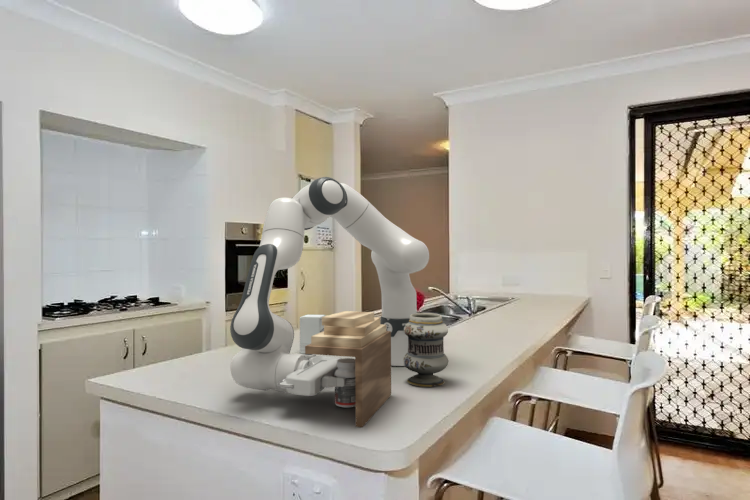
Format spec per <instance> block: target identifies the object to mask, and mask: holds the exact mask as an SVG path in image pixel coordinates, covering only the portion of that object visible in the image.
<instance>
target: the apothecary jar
mask: <svg viewBox="0 0 750 500" xmlns="http://www.w3.org/2000/svg"><path fill="white" fill-rule="evenodd" d="M448 332H449V328H448V326H447V324H446V323H444V321H443V316H442V314H438V313H434V312H417V313H415V314H411V315H410V320H409V322H408V323H407V324H406V325H405V326H404V333H405V334H406V335H407V336H408V353H406V355H405V356H404V358H403V363H404V365H405V366H404V367H406V369H407V370H409V371H411V372H414V373H417V374H415V375H413V376H410V377H409V378H407V380H406V383H408V384H409V385H412V386H415V387H421V388H432V387H440V386H442V385H444V384H445V380H444V379H443V378H441V377H439V376H438V375H435V374H436V373H439V372H442V371H444V370H445V369H447V367H448V366H449V358H448V356H447V355H446V354H445V350H444V337H446V336H447V335H448Z"/></svg>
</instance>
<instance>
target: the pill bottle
mask: <svg viewBox="0 0 750 500" xmlns="http://www.w3.org/2000/svg"><path fill="white" fill-rule="evenodd" d="M337 367H338V370H336V372H335V377H345V378H346V385H345V386H343V387H338V386H336V387H334V404H335V406H337V407H339V408H343V409H344V408H346V409H347V408H350V409H351V408H356V395H355V358H353V357H351V358H349V357H345V358H342V359H339V360H337Z"/></svg>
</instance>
